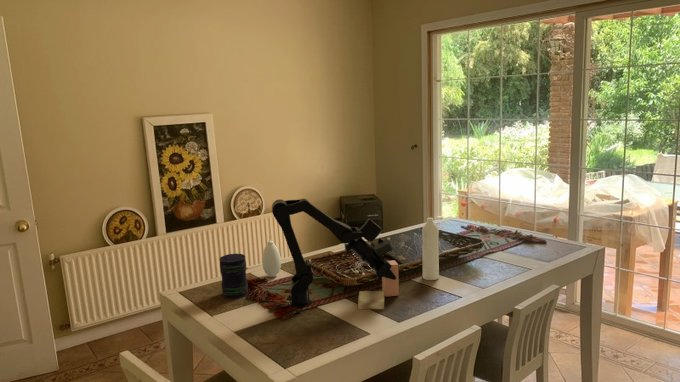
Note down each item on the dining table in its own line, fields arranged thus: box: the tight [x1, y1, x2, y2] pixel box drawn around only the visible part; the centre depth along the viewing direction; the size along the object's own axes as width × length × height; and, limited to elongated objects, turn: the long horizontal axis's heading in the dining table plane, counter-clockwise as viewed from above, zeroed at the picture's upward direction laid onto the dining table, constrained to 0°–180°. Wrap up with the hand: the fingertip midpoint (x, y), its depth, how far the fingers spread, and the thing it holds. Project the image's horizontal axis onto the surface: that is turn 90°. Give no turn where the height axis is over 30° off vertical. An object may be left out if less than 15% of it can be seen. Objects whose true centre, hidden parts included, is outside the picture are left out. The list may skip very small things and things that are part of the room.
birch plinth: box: [357, 290, 385, 310], centre depth 181 cm, size 9×9×3 cm
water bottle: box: [421, 215, 444, 281], centre depth 202 cm, size 9×6×25 cm
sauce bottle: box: [261, 237, 282, 278], centre depth 211 cm, size 8×8×18 cm
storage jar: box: [219, 253, 249, 300], centre depth 194 cm, size 10×10×15 cm
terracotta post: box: [381, 260, 400, 298], centre depth 188 cm, size 5×5×12 cm
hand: (393, 276), depth 188 cm, fingers closed on terracotta post, 5 cm apart
